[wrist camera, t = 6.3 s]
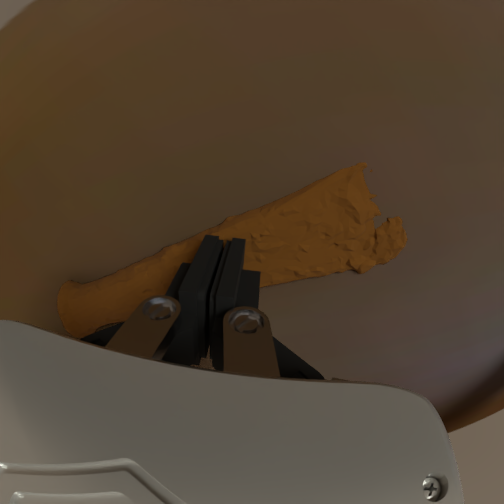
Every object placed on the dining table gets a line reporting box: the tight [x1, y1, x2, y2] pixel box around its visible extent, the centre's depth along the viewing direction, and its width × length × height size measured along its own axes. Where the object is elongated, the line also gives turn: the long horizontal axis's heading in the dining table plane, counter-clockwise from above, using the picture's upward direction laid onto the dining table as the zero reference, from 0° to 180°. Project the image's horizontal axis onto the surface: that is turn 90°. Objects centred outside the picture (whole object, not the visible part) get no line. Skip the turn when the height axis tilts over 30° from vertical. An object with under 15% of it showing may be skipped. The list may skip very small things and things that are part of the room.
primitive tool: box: [57, 163, 407, 338], centre depth 13 cm, size 19×6×4 cm, turn 113°
